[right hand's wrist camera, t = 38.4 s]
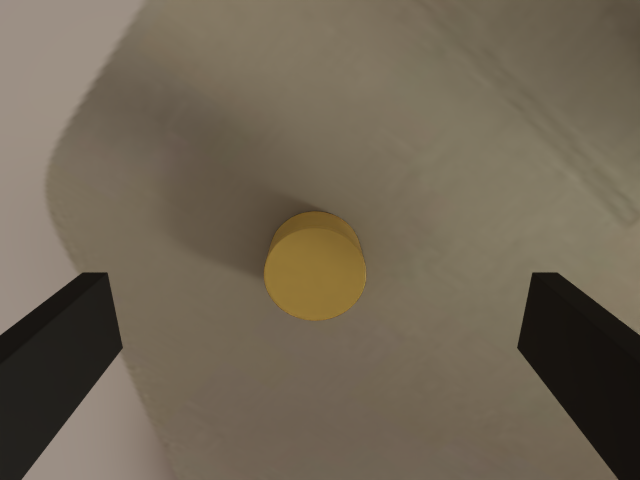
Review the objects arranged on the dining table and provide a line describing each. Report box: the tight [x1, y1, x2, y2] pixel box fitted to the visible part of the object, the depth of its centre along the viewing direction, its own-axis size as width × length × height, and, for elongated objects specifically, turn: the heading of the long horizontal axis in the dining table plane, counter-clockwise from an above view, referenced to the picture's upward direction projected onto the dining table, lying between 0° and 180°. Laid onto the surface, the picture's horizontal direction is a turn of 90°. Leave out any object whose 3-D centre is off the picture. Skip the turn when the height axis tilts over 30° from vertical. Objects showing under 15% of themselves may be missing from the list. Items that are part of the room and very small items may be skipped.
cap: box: [264, 211, 366, 321], centre depth 15 cm, size 4×4×2 cm
